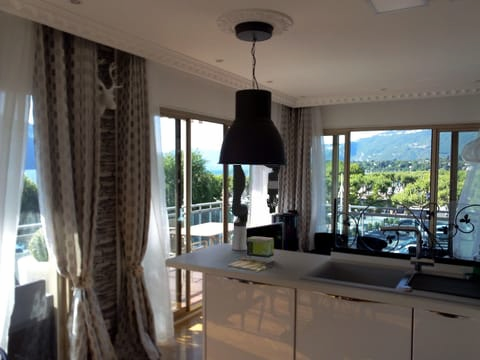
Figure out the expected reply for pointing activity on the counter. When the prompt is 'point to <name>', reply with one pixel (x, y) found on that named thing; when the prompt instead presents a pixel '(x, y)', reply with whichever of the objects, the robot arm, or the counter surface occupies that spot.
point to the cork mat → (248, 264)
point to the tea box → (260, 249)
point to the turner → (262, 268)
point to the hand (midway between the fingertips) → (272, 213)
